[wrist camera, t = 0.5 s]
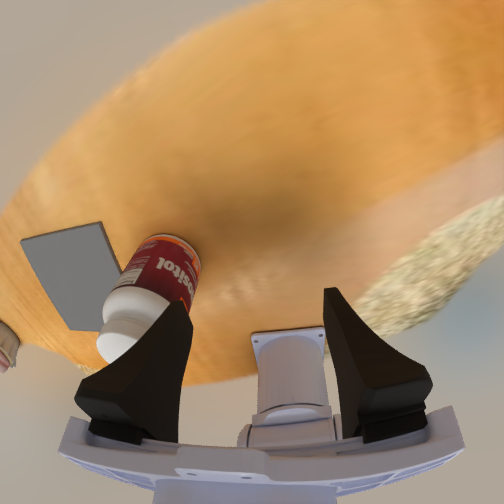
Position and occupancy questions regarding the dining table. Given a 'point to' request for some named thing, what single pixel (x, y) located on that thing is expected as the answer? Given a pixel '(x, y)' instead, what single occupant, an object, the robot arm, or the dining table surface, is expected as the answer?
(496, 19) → the dining table surface
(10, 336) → the cupcake
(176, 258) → the pill bottle
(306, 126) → the dining table surface
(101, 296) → the mat
